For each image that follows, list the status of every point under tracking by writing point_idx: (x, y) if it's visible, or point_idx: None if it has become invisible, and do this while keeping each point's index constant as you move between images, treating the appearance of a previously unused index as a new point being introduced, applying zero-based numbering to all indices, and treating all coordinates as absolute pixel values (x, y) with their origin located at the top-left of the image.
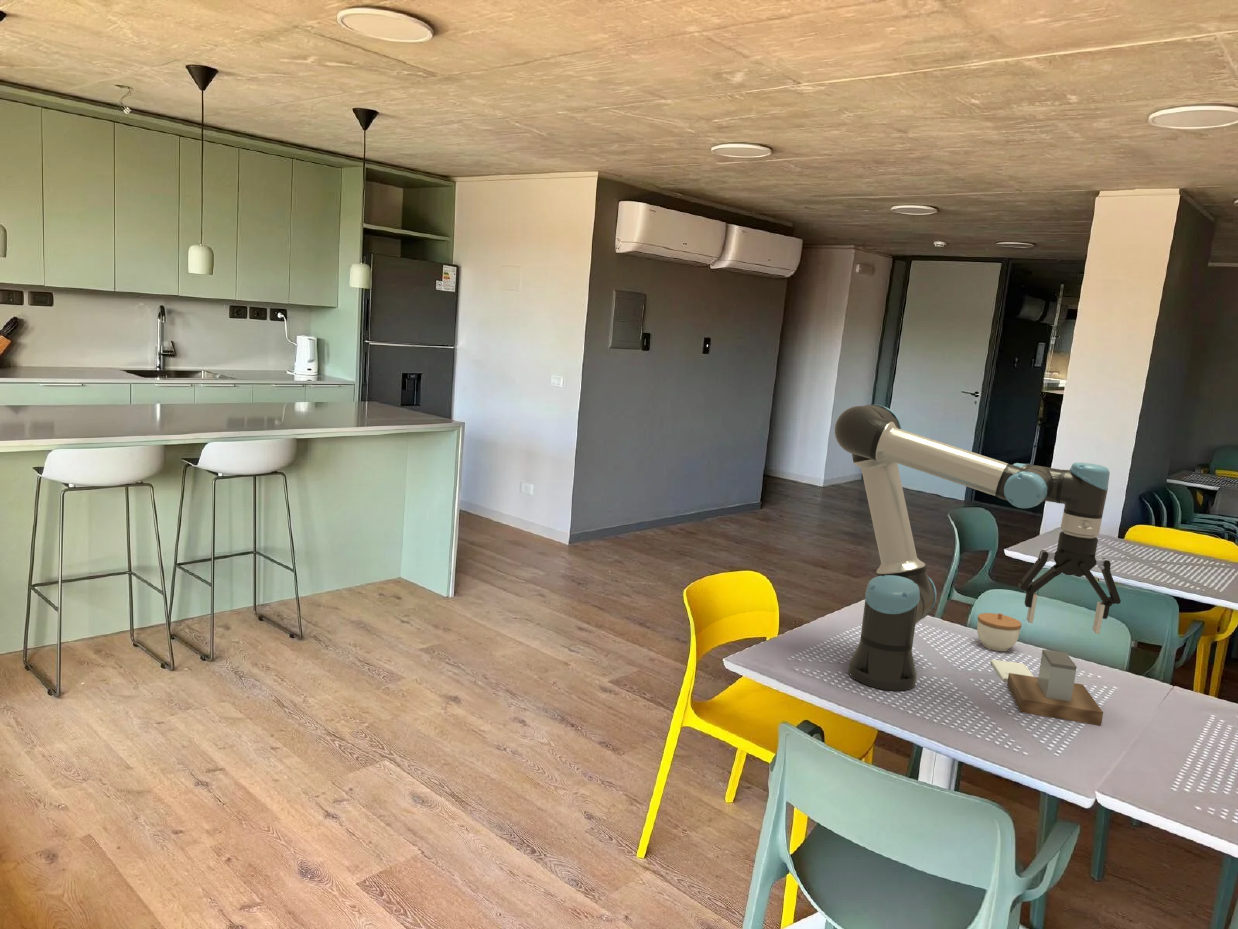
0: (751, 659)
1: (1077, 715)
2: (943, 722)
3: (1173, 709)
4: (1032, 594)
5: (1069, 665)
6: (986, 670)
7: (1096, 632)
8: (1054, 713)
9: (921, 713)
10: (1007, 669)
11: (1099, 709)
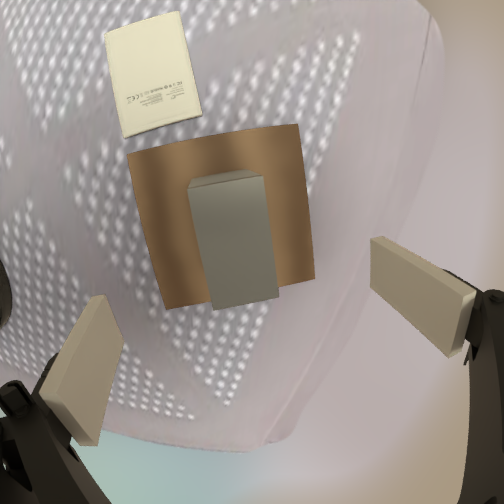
0: None
1: None
2: None
3: (429, 109)
4: (68, 433)
5: (260, 297)
6: (94, 89)
7: (373, 289)
8: None
9: None
10: (133, 72)
11: (311, 267)
